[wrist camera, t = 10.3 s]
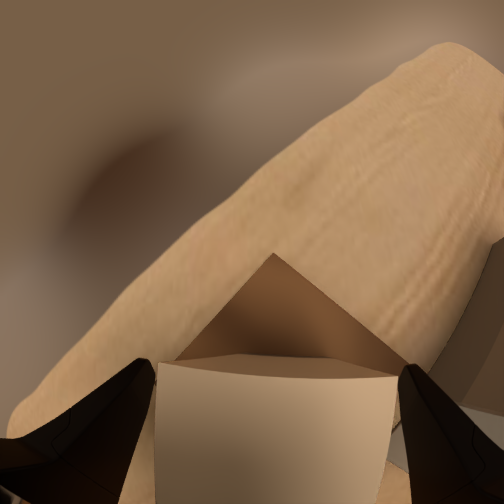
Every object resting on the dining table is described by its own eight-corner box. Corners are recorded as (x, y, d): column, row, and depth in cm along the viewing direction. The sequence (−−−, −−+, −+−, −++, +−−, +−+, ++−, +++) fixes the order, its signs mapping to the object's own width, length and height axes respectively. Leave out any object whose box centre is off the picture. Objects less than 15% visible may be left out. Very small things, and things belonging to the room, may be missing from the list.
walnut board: (286, 490, 14) (285, 497, 13) (160, 381, 18) (153, 383, 17) (406, 365, 16) (411, 366, 15) (274, 257, 20) (273, 252, 19)
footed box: (318, 446, 14) (349, 571, 3) (238, 441, 15) (160, 552, 4) (327, 356, 16) (398, 376, 5) (246, 352, 17) (158, 362, 6)
